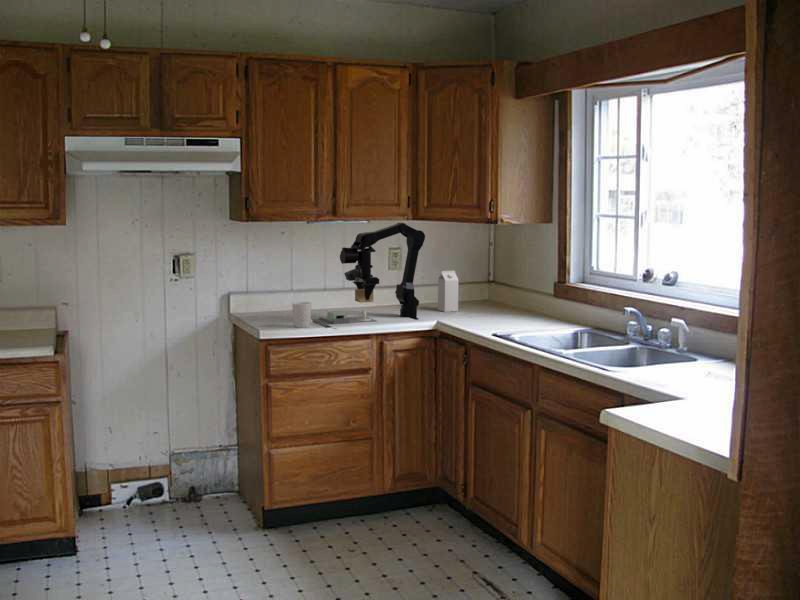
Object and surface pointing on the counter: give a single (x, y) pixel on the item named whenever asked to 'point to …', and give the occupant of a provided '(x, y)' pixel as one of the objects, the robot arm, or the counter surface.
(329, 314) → the housing
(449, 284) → the milk carton
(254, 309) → the counter surface
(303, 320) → the white cup
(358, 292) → the collar
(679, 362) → the counter surface
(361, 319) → the board
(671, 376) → the counter surface
